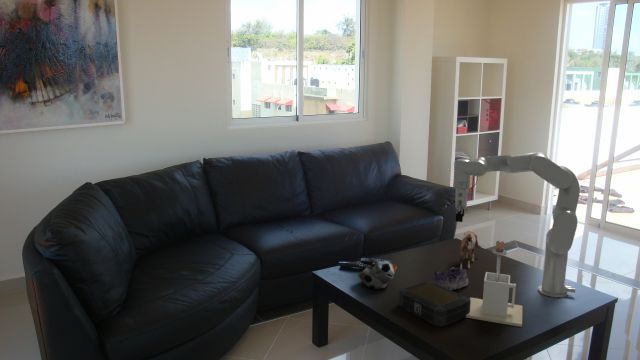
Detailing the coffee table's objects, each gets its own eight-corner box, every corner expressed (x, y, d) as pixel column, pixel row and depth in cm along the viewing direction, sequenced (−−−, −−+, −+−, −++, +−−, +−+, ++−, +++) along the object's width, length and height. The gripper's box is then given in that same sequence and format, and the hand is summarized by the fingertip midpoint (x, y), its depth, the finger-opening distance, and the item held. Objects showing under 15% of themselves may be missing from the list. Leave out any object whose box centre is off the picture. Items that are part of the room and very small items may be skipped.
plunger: (506, 286, 218) (510, 240, 214) (506, 293, 211) (510, 246, 207) (487, 283, 221) (490, 238, 217) (486, 290, 214) (489, 243, 210)
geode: (444, 297, 234) (443, 276, 233) (426, 291, 244) (424, 271, 242) (473, 285, 245) (472, 265, 244) (455, 280, 255) (453, 261, 254)
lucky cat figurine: (374, 275, 258) (389, 251, 254) (390, 293, 250) (407, 269, 245) (352, 274, 247) (368, 249, 242) (368, 293, 238) (385, 268, 233)
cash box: (396, 306, 226) (396, 290, 224) (428, 295, 237) (428, 279, 235) (438, 329, 206) (439, 311, 204) (471, 315, 217) (472, 298, 215)
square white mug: (522, 308, 223) (525, 274, 219) (521, 326, 206) (525, 290, 203) (470, 299, 231) (472, 266, 227) (466, 317, 214) (468, 282, 211)
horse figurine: (469, 275, 258) (472, 237, 254) (454, 272, 262) (456, 234, 258) (480, 256, 285) (483, 221, 281) (467, 253, 289) (469, 219, 285)
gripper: (468, 189, 234) (466, 224, 238) (470, 181, 250) (468, 214, 254) (451, 188, 237) (450, 223, 240) (455, 180, 253) (453, 213, 256)
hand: (459, 218), depth 247 cm, fingers open, 9 cm apart
